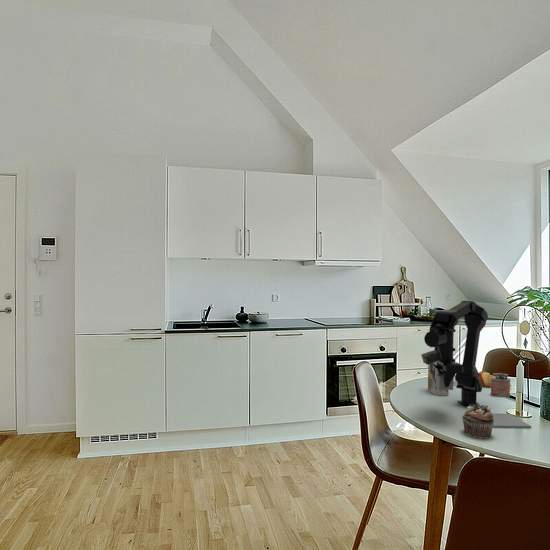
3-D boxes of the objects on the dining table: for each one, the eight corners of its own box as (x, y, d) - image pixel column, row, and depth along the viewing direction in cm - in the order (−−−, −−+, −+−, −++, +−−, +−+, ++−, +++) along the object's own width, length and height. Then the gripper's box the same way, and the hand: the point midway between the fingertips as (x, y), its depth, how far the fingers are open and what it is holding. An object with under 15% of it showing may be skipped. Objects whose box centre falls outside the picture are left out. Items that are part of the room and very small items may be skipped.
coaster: (476, 415, 162) (476, 413, 162) (510, 415, 162) (510, 413, 162) (493, 427, 149) (494, 425, 149) (531, 428, 149) (531, 425, 149)
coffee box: (449, 395, 188) (449, 358, 188) (434, 395, 188) (434, 358, 188) (441, 389, 197) (442, 354, 197) (427, 389, 197) (427, 354, 197)
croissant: (511, 395, 203) (512, 378, 206) (509, 389, 195) (511, 372, 198) (463, 387, 215) (465, 371, 218) (460, 381, 207) (462, 365, 210)
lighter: (508, 395, 190) (508, 372, 190) (511, 397, 187) (512, 374, 187) (489, 394, 191) (489, 372, 191) (492, 396, 188) (492, 373, 188)
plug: (435, 387, 164) (435, 374, 164) (453, 387, 164) (454, 374, 164) (439, 389, 160) (439, 376, 160) (457, 390, 160) (458, 376, 160)
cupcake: (497, 433, 144) (497, 403, 144) (488, 441, 137) (489, 410, 137) (467, 426, 150) (467, 397, 150) (457, 433, 143) (458, 403, 143)
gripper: (415, 340, 171) (414, 379, 172) (433, 348, 153) (432, 392, 153) (443, 340, 171) (442, 379, 172) (464, 349, 153) (463, 392, 153)
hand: (444, 385), depth 162 cm, fingers closed on plug, 4 cm apart
